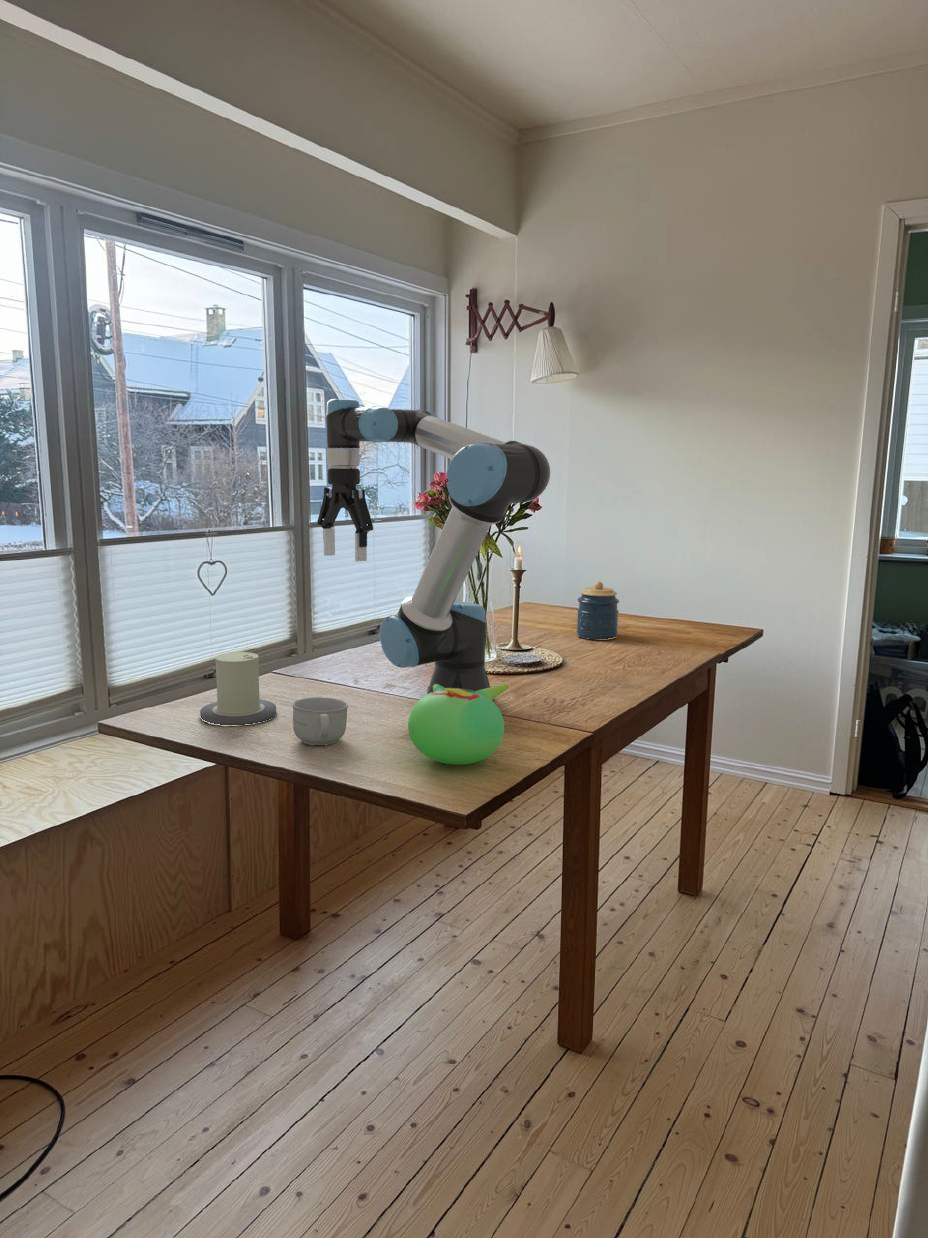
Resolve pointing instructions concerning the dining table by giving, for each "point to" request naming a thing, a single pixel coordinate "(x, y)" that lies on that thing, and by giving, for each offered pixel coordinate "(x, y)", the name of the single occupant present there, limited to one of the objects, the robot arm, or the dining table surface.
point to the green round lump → (457, 724)
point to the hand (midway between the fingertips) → (344, 558)
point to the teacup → (319, 720)
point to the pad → (216, 717)
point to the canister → (597, 613)
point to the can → (237, 682)
